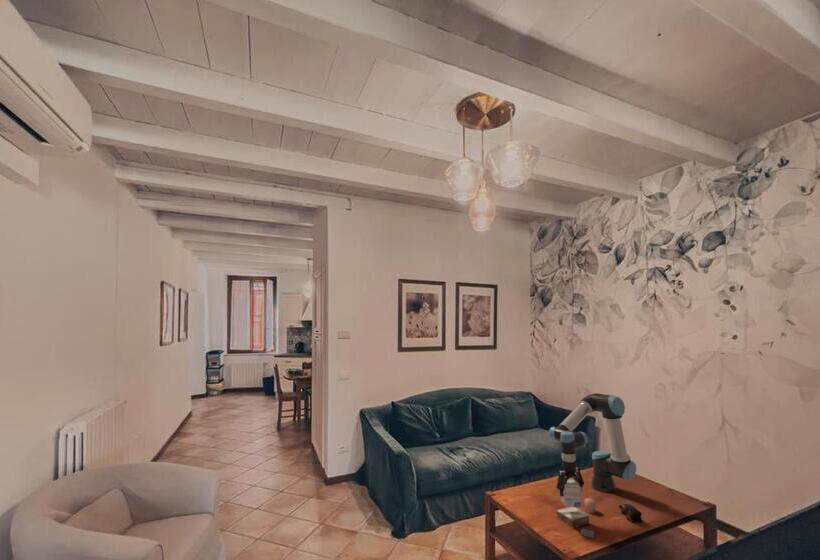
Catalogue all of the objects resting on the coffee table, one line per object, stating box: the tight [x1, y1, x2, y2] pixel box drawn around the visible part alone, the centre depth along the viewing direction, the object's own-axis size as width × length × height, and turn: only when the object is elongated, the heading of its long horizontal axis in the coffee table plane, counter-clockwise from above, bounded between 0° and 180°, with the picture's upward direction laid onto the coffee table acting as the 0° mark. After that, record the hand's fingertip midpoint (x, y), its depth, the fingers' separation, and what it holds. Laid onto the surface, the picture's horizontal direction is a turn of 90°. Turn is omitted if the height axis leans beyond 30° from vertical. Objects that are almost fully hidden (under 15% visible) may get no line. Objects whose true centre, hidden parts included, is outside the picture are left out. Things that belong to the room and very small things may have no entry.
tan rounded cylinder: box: [584, 497, 597, 514], centre depth 230 cm, size 6×6×6 cm
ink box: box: [563, 478, 582, 508], centre depth 221 cm, size 8×8×12 cm
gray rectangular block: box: [580, 528, 595, 539], centre depth 205 cm, size 6×4×2 cm, turn 59°
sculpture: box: [618, 503, 643, 523], centre depth 222 cm, size 13×6×7 cm, turn 9°
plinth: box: [556, 506, 590, 529], centre depth 220 cm, size 12×12×4 cm
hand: (571, 500), depth 221 cm, fingers closed on ink box, 11 cm apart
